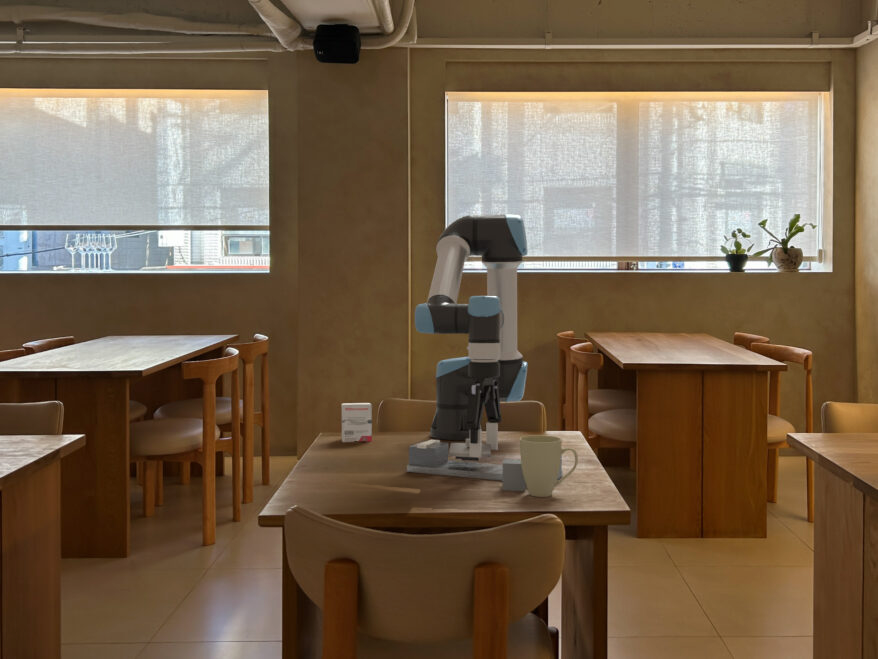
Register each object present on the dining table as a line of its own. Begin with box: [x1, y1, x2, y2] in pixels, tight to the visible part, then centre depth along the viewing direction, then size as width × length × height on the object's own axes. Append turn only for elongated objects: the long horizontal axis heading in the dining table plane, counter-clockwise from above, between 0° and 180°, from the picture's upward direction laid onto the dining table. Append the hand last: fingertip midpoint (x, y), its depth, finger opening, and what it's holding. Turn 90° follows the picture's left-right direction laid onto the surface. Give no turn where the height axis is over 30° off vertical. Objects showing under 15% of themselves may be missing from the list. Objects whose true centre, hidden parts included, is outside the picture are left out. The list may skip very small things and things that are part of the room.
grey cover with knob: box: [448, 438, 492, 462], centre depth 202 cm, size 10×10×5 cm
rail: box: [406, 439, 564, 481], centre depth 202 cm, size 10×36×7 cm, turn 66°
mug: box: [519, 434, 579, 498], centre depth 181 cm, size 11×10×12 cm
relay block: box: [501, 458, 527, 492], centre depth 187 cm, size 5×5×6 cm
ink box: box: [341, 402, 373, 443], centre depth 243 cm, size 8×5×12 cm, turn 99°
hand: (483, 453), depth 201 cm, fingers closed on grey cover with knob, 10 cm apart
